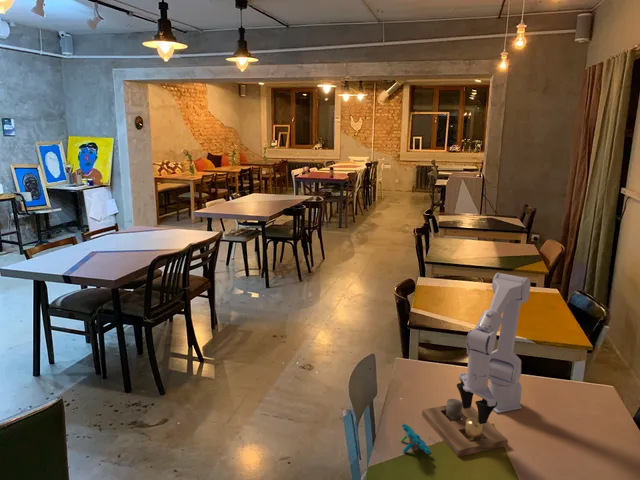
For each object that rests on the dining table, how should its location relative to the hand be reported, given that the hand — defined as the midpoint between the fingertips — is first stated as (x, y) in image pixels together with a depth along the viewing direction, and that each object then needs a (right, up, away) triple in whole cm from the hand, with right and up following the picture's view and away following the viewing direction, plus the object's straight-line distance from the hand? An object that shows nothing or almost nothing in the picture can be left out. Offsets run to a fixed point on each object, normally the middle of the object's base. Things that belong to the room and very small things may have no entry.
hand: (474, 415), depth 133 cm
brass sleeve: (0, -8, +2) cm, 8 cm away
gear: (-17, -9, -2) cm, 20 cm away
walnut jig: (-1, -7, +6) cm, 10 cm away
